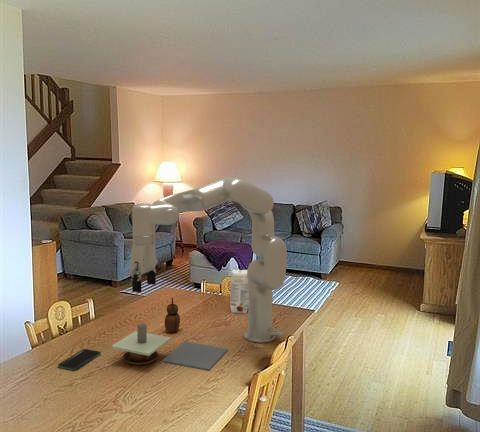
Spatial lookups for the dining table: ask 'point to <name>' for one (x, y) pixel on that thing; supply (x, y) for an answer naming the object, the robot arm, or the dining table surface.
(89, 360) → the phone
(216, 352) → the rubber mat
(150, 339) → the cover board
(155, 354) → the cup and saucer
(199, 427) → the dining table surface
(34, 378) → the dining table surface
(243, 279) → the juice carton
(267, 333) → the robot arm
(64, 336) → the dining table surface
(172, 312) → the wooden figurine
